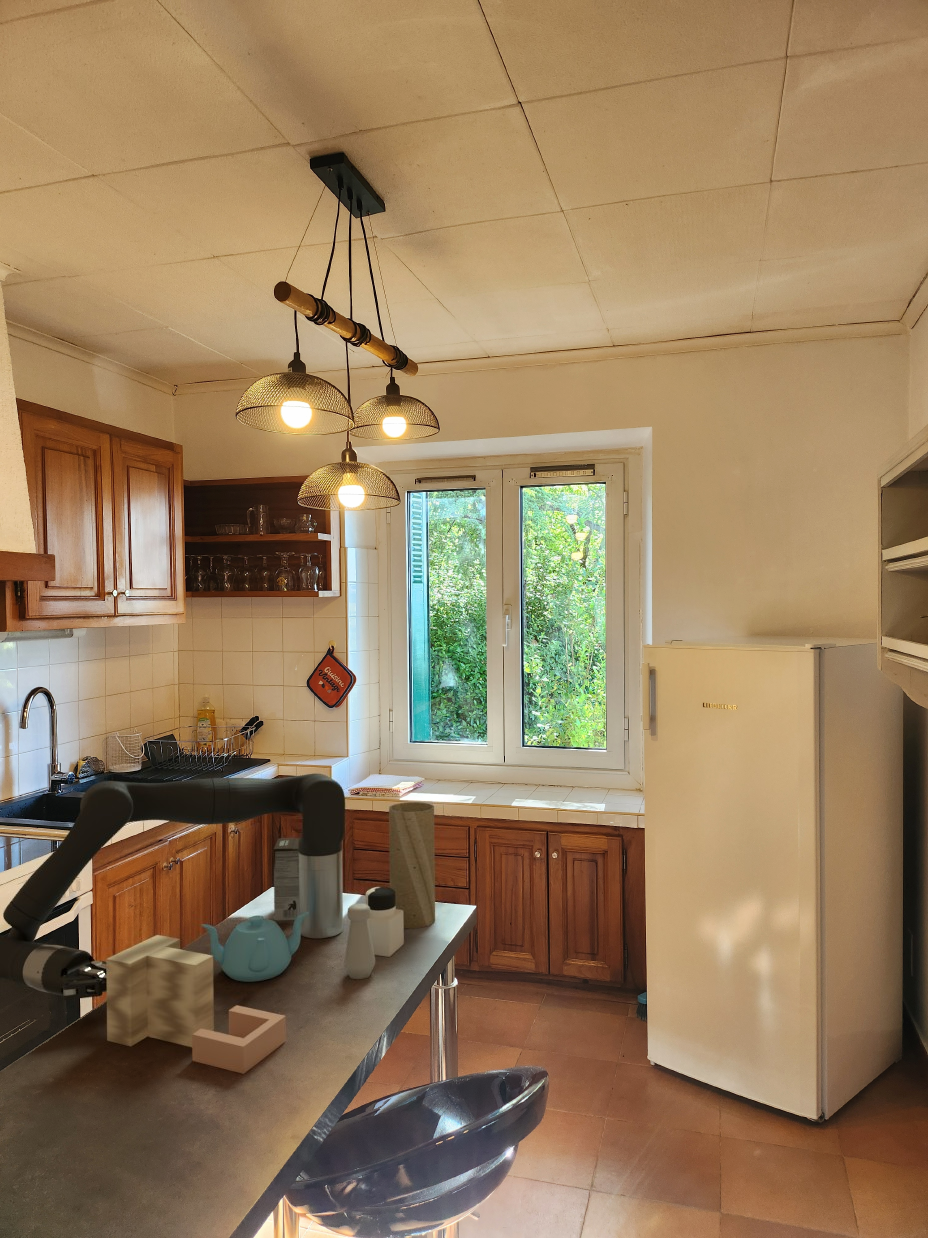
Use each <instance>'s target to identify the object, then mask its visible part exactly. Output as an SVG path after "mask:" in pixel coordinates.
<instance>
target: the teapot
mask: <svg viewBox="0 0 928 1238" xmlns="http://www.w3.org/2000/svg"><path fill="white" fill-rule="evenodd" d="M308 913H309V912H306V913H303V914H301V915H299V916H298V917H297V918H296V919H295V920H293V921H294V922H293V927H292V928H293V930H292V933H291V935H290V937H288V938H287V936H286V935H285V933H284V931H283V930H282V928H281V926H280V925H278V923H277V922H276V921H275V920H274V919H268V918H264V917H263V916H262V915H251V916H250V917H249V918H248V920H245V921H242V922H240V923H238V924H237V925H236V926H235V927H234V929H233V930H232V931H231V933H230V935H229V936H228V938H227V940H226V942H225V944H224V946H222V944H220V941H219V935H218V931H217V929H216V927H214V926H213V925H210V924H204V923H201V924H200V925H201V927H203V928H204V929H205V930H206V931H207V932H208V934H209V939H210V940H209V942H210V953H211V955H212V956H213V960H214V961H216V962H217V963H218V964H220V966H221V970H222V971H223V972H224V973H225V975H227V976H228V977H229V978H230V979H232V980H233V981H238V982H242V983H244V982H245V983H248V982H249V983H251V982H262V981H267V980H269V979H273V978H275V977H277V976H279V975H281V974H282V973H283V972H285V970H286V969H287V967H289V964H290V962H291V961H292V956H293V955H294V953H296V952H297V950H298V949H299V946H300V944H301V936H302V935H301V924H302V921H303V919H304V918H305V916H306V915H307V914H308Z"/></svg>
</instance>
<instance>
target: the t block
mask: <svg viewBox="0 0 928 1238" xmlns="http://www.w3.org/2000/svg"><path fill="white" fill-rule="evenodd" d="M106 964H107V992H106V1032H107V1033H106V1035H107V1036H106V1040H107V1042H112V1043H116V1044H120V1045H122V1046H123V1045H124V1046H127V1047H132V1046H134V1045H135V1044H137V1043H140V1042H141V1041H142V1040H144V1039H145V1038H147V1037H149V1038H152V1039H153V1038H154V1039H158V1040H160V1041H165V1042H170V1043H173V1044H177V1045H181V1046H185V1047H189V1048H192V1034H194V1033H195V1032H197V1031H198V1030H200V1029H201V1028H202V1029H206V1030H210V1031H214V1032H215V1026H214V1025H215V1022H214V1021H215V1020H214V1019H215V1018H214V1017H215V1012H214V1011H215V1009H214V1004H215V1003H214V958H213V956H212V954H206V953H202V952H195V951H191V950H185V949H181V939H180V938H177V937H172V936H171V937H170V936H165V935H160V934H156V935H154V936H152V937H150V938H148V939H146V940H143V941H141V942H140V943H137V944H135V945H133V946H131V947H129V948H127V949H124V950H122V951H120V952H118V953H116V954H114V955H112V956H109V957H107V958H106Z"/></svg>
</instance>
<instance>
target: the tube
mask: <svg viewBox="0 0 928 1238" xmlns="http://www.w3.org/2000/svg"><path fill="white" fill-rule="evenodd" d="M388 821H389V822H388V826H389V827H388V830H389V831H388V832H389V834H388V835H389V836H388V838H389V840H388V841H389V843H388V844H389V847H388V848H389V849H388V850H389V888H391V889H393V890H394V891H395V894H396V909H398V910H403V922H404V929H420V928H424V927H428V926H430V925H432V924H434V923H435V921H436V874H435V873H436V872H435V868H436V864H435V862H436V861H435V859H436V858H435V856H436V855H435V852H436V850H435V849H436V848H435V805H433V804H431V803H429V802H428V803H427V802H418V801H413V802H412V801H411V802H410V801H409V802H400V803H395V804H393V805H389V806H388Z"/></svg>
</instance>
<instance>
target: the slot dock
mask: <svg viewBox="0 0 928 1238" xmlns="http://www.w3.org/2000/svg"><path fill="white" fill-rule="evenodd" d="M286 1019H287V1016H286V1015H284V1014H278V1013H273V1012H269V1011H264V1010H260V1009H255V1008H251V1007H247V1006H241V1005H237V1004H236V1005H234V1006H233V1007H232V1008H230V1009H229V1010H228V1034H227V1033H223V1032H218V1031H215V1030H214V1031H210V1030H206V1029H202V1028H201V1029H200V1030H198V1031H197V1032H195V1033H194V1034H192V1047H191V1048H192V1049H191V1050H192V1051H191V1053H192V1062H196V1063H199V1064H204V1065H208V1066H212V1067H214V1068H215V1067H216V1068H219V1069H224V1070H227V1071H231V1072H235V1073H238V1074H246V1073H247V1072H248V1071H249V1070H251V1069H252V1068H254V1067H255V1066H256V1065H258V1063H260V1062H261V1061H262V1060H264V1059H265V1058H266V1057H267V1056H269V1055H270V1054H271V1053H273V1052H274V1051H275V1050H277V1048H279V1047H280V1046H281V1045H283V1044H284V1043H286V1042H287V1032H286V1031H287V1027H286V1026H287V1025H286V1023H287V1022H286V1021H287V1020H286Z"/></svg>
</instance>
